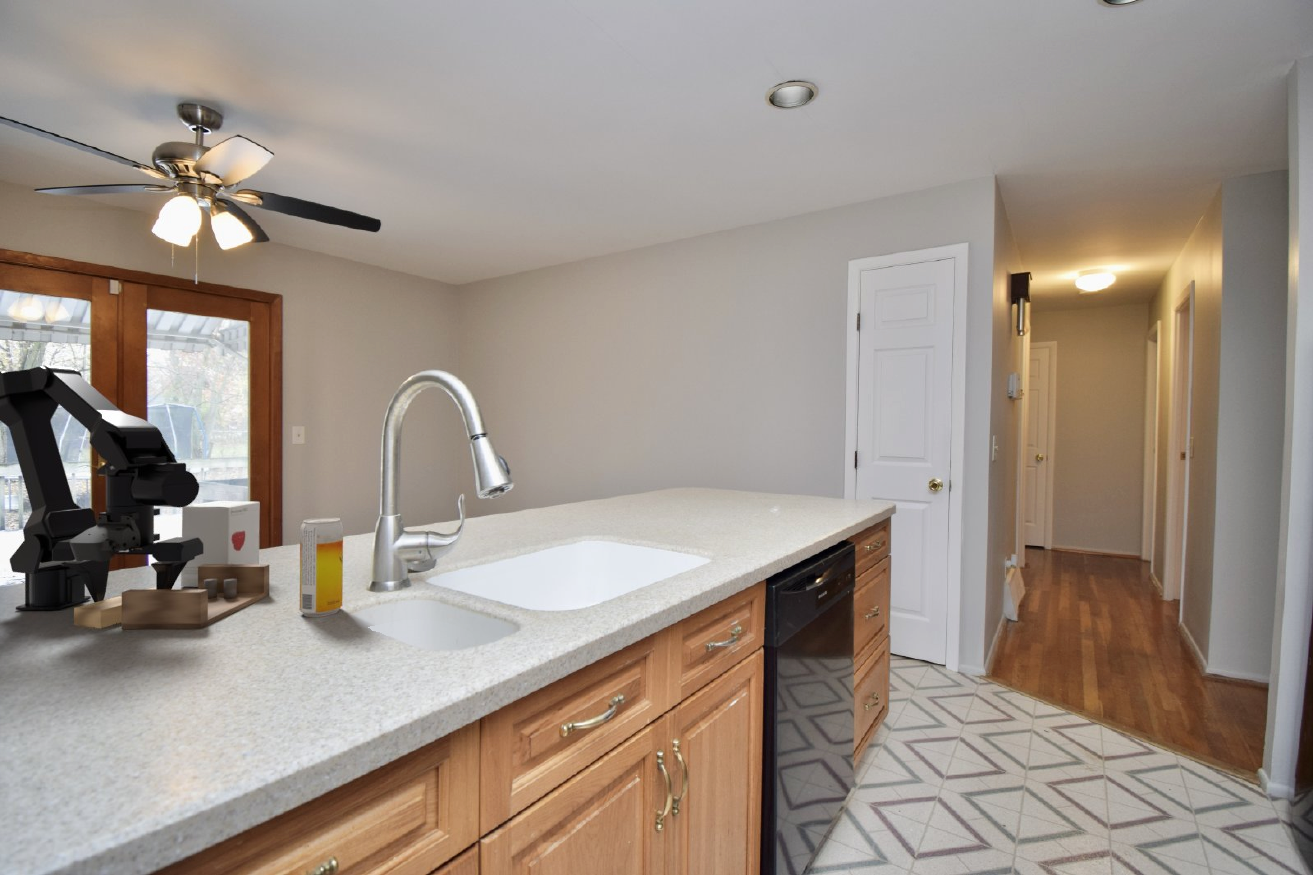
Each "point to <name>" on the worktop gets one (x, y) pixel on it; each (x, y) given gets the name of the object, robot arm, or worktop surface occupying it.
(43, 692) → the worktop surface
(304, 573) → the beer can
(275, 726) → the worktop surface
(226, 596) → the peg frame
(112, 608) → the shelf board
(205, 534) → the supplement box
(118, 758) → the worktop surface
